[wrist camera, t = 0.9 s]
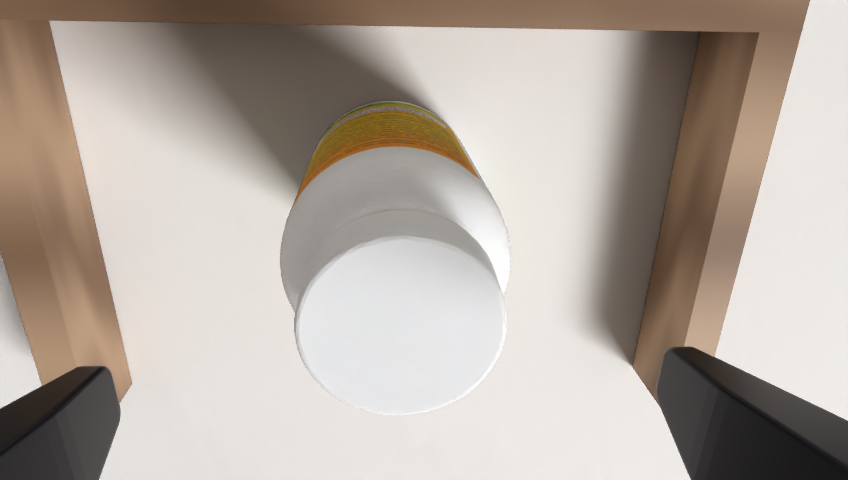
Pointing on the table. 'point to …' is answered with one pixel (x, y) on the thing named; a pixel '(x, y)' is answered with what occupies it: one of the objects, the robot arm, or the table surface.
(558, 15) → the walnut stall
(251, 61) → the table surface
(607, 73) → the table surface
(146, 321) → the table surface
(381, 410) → the supplement bottle
